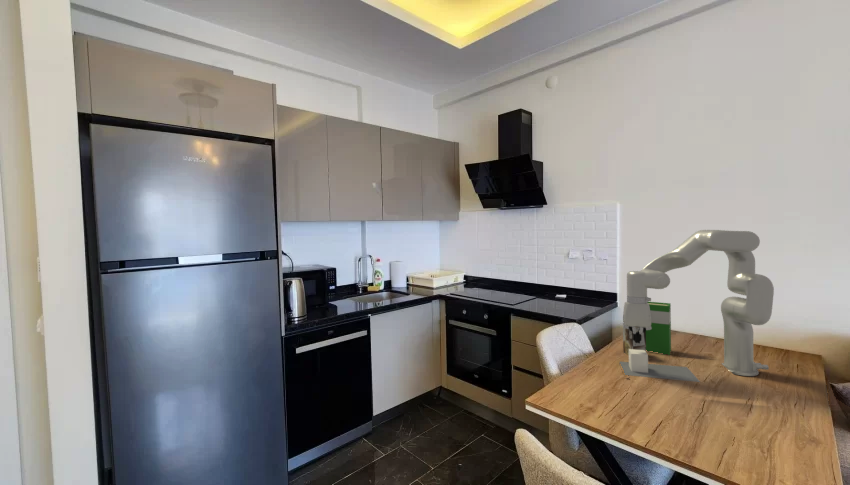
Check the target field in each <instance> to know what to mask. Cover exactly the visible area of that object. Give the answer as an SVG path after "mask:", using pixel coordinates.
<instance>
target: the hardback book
mask: <svg viewBox="0 0 850 485" xmlns="http://www.w3.org/2000/svg"><path fill="white" fill-rule="evenodd" d="M648 304H649V307H650V313H651V328H652V329H651V330H646V350H647V351H653V352H658V353H657V354H659V353H663V354H662V355H665V354H668V355H667V356H670V355H671V353H670V352H672V323H671V322H672V317H671V316H672V314H671V306H672V305H671V303H670V302H660V301H659V302H658V301H657V302H656V301H648ZM653 352H652V353H653Z"/></svg>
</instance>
